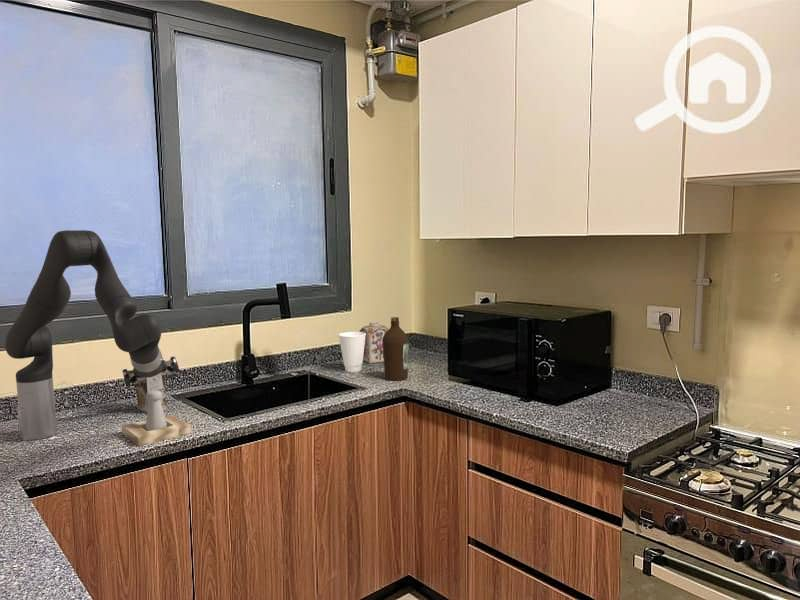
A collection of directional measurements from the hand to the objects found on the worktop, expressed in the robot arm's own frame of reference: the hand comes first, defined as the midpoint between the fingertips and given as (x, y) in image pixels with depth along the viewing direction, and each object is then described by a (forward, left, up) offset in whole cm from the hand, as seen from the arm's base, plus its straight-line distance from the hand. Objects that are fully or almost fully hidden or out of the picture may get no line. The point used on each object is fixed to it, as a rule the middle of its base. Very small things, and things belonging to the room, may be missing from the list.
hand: (154, 380), depth 166 cm
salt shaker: (+1, +5, -18) cm, 18 cm away
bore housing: (+1, +5, -17) cm, 18 cm away
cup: (+93, +28, -18) cm, 99 cm away
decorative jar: (+113, +37, -18) cm, 120 cm away
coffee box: (+9, +32, -18) cm, 38 cm away
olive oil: (+96, +3, -18) cm, 98 cm away
